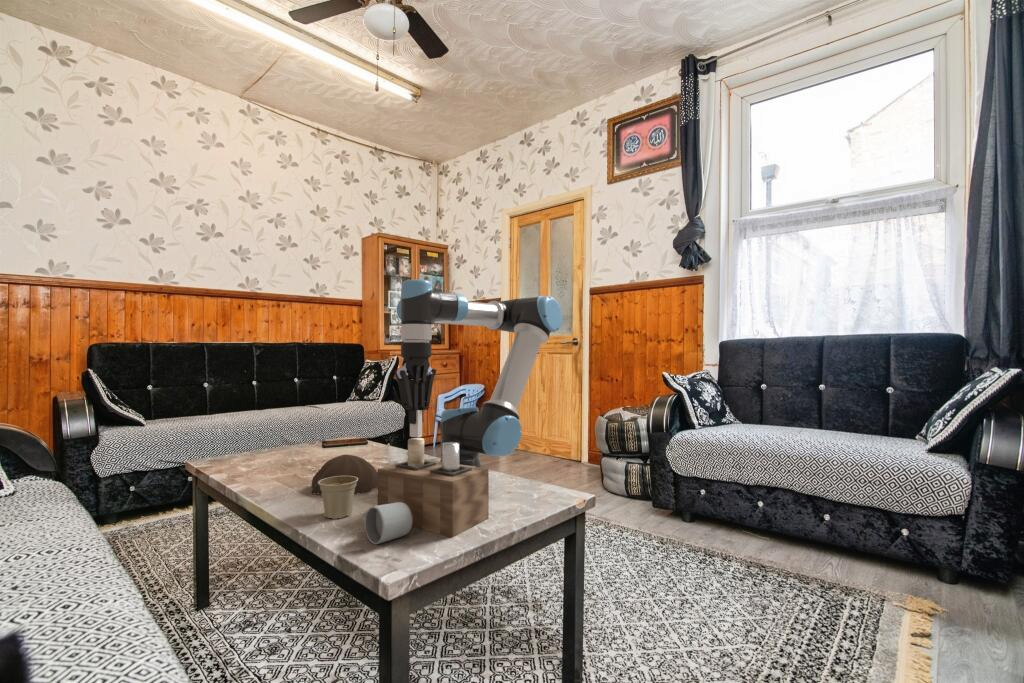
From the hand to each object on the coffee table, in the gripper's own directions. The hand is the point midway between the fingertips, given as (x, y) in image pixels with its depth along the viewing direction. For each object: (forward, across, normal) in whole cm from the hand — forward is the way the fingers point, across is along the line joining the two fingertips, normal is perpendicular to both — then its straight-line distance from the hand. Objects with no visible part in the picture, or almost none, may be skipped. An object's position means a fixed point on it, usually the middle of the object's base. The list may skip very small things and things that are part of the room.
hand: (415, 436), depth 120 cm
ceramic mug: (+20, +14, +4) cm, 25 cm away
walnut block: (+19, 0, +6) cm, 20 cm away
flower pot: (+20, +10, -16) cm, 27 cm away
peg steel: (+12, 0, +11) cm, 16 cm away
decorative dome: (+20, -8, -35) cm, 41 cm away
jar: (+20, -13, +4) cm, 24 cm away
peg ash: (+12, 0, 0) cm, 12 cm away
